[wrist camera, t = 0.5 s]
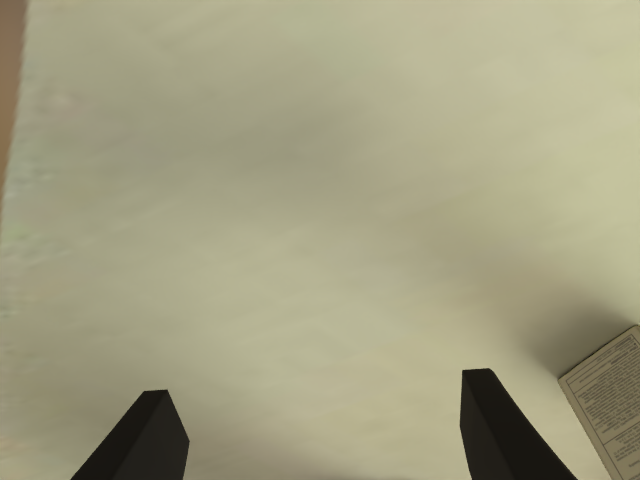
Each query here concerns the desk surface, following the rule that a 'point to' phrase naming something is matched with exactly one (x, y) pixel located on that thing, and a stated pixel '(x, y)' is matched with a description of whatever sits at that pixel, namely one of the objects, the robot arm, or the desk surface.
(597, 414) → the box
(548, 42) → the desk surface
